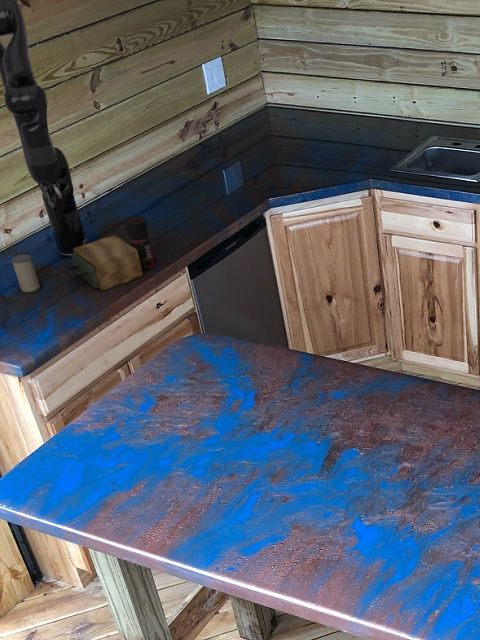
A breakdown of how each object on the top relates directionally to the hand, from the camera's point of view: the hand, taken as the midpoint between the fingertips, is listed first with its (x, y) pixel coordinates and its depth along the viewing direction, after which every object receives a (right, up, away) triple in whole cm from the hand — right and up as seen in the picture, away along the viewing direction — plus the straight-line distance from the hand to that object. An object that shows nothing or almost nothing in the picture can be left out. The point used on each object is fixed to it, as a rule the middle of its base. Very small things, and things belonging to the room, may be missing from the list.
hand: (59, 217), depth 265 cm
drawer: (+6, -14, +16) cm, 22 cm away
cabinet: (+9, -13, +18) cm, 24 cm away
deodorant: (+17, -9, +24) cm, 31 cm away
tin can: (-14, -19, +12) cm, 26 cm away
